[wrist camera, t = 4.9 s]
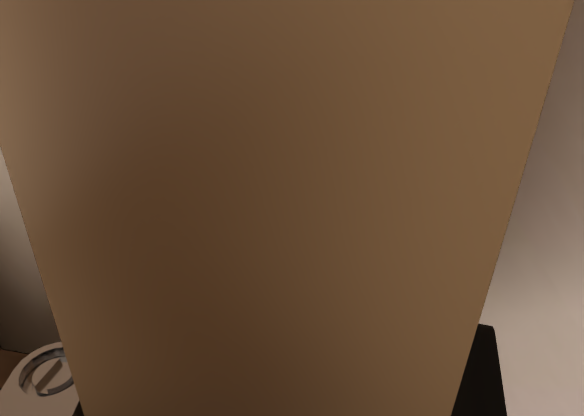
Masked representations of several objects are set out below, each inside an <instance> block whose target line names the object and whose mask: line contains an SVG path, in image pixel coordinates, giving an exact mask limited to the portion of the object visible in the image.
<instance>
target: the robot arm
mask: <svg viewBox="0 0 584 416" xmlns="http://www.w3.org/2000/svg"><path fill="white" fill-rule="evenodd" d="M0 416H84V413H83V410H82V407H81V404H80V401H79V397H78V394H77V391H76V388H75V384H74V381H73V378H72V375H71V372H70V368H69V365H68V362H67V359H66V356H65V352H64V349H63V346H62V343H61V342H56V343H52V344H49V345H46V346H43V347H41V348H39V349H37V350H35V351H33V352H31V353H30V354H29V355H28V356H26V357H25V358H24V359H22V360H21V361H20V363H19V364H18V365H17V366H16V367H15V369H14V370H13V371H12V373H11V375H10V376H9V378H8V379H7V381H6V383H5V384H4V386H3V387H2V388H0ZM451 416H507V412H506V405H505V398H504V391H503V385H502V378H501V371H500V364H499V357H498V350H497V343H496V336H495V331H494V328H493V327H492V326H488V325H483V324H478V326H477V329H476V333H475V336H474V339H473V343H472V346H471V349H470V353H469V356H468V359H467V363H466V366H465V370H464V373H463V376H462V380H461V383H460V386H459V390H458V393H457V396H456V400H455V403H454V406H453V410H452V413H451Z"/></svg>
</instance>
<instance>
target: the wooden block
mask: <svg viewBox="0 0 584 416" xmlns="http://www.w3.org/2000/svg"><path fill="white" fill-rule="evenodd" d="M573 4H574V0H0V147H1V150H2V153H3V156H4V159H5V163H6V166H7V169H8V172H9V175H10V179H11V182H12V185H13V188H14V192H15V195H16V198H17V201H18V204H19V208H20V211H21V214H22V217H23V220H24V224H25V227H26V230H27V233H28V237H29V240H30V243H31V246H32V249H33V253H34V256H35V259H36V262H37V265H38V269H39V272H40V275H41V278H42V282H43V285H44V288H45V291H46V294H47V298H48V301H49V304H50V307H51V310H52V314H53V317H54V320H55V323H56V327H57V330H58V333H59V336H60V339H61V343H62V346H63V349H64V352H65V356H66V359H67V362H68V365H69V368H70V372H71V375H72V378H73V381H74V384H75V388H76V391H77V394H78V397H79V401H80V404H81V407H82V410H83V413H84V416H451V413H452V410H453V406H454V403H455V400H456V396H457V393H458V390H459V386H460V383H461V380H462V376H463V373H464V370H465V366H466V363H467V359H468V356H469V353H470V349H471V346H472V343H473V339H474V336H475V333H476V329H477V326H478V323H479V319H480V316H481V312H482V309H483V306H484V302H485V299H486V296H487V292H488V289H489V286H490V282H491V279H492V276H493V272H494V269H495V265H496V262H497V259H498V255H499V252H500V249H501V245H502V242H503V239H504V235H505V232H506V229H507V225H508V222H509V218H510V215H511V212H512V208H513V205H514V202H515V198H516V195H517V192H518V188H519V185H520V182H521V178H522V175H523V171H524V168H525V165H526V161H527V158H528V155H529V151H530V148H531V145H532V141H533V138H534V135H535V131H536V128H537V124H538V121H539V118H540V114H541V111H542V108H543V104H544V101H545V98H546V94H547V91H548V88H549V84H550V81H551V77H552V74H553V71H554V67H555V64H556V61H557V57H558V54H559V51H560V47H561V44H562V41H563V37H564V34H565V30H566V27H567V24H568V20H569V17H570V14H571V10H572V7H573Z"/></svg>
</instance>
